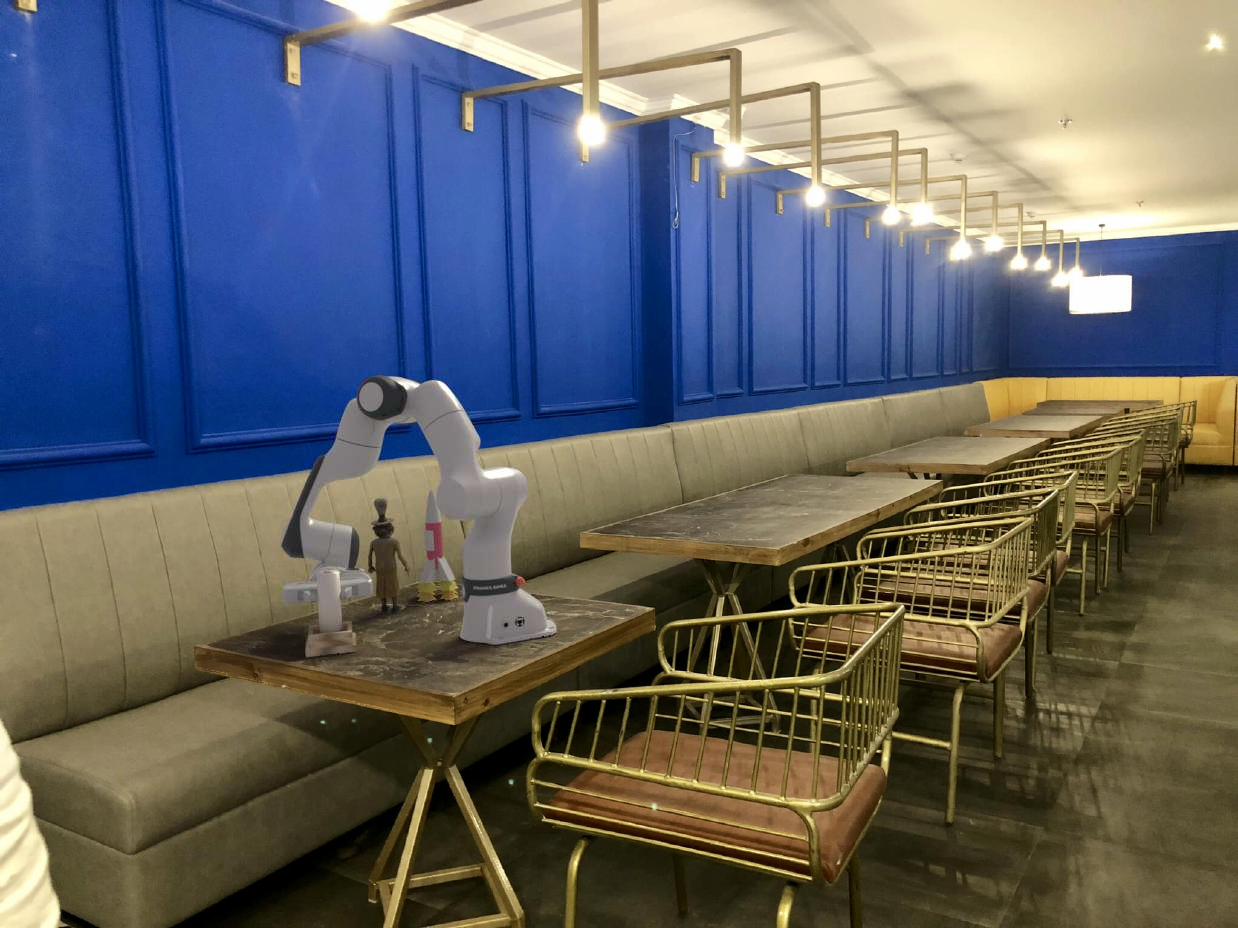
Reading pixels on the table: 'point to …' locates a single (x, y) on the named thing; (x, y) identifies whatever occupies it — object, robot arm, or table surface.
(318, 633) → the holder
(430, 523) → the toy rocket
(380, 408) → the robot arm
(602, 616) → the table surface
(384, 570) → the figurine
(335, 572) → the roll
